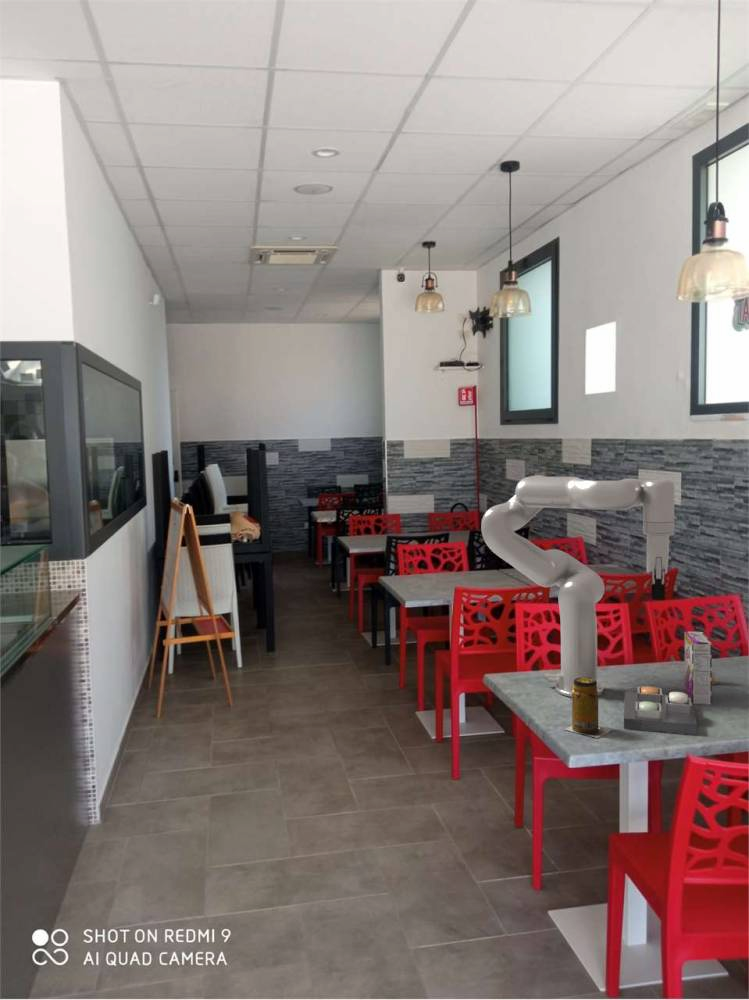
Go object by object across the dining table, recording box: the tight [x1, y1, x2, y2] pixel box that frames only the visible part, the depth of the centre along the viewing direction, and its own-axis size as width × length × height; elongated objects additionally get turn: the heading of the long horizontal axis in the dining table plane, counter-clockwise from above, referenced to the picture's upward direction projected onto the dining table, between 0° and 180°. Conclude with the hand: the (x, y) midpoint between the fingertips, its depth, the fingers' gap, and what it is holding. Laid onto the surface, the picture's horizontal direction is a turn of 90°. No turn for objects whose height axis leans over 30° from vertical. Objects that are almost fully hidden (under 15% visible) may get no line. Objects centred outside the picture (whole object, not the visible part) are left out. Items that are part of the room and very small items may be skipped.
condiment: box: [564, 677, 613, 739], centre depth 184 cm, size 7×8×12 cm
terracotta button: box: [641, 685, 659, 694], centre depth 198 cm, size 4×4×2 cm
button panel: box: [623, 685, 698, 736], centre depth 192 cm, size 16×20×4 cm
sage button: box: [639, 702, 658, 711], centre depth 187 cm, size 4×4×2 cm
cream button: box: [668, 691, 688, 705], centre depth 190 cm, size 4×4×2 cm
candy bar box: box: [684, 631, 713, 706], centre depth 204 cm, size 11×5×16 cm, turn 168°
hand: (658, 599), depth 200 cm, fingers closed
